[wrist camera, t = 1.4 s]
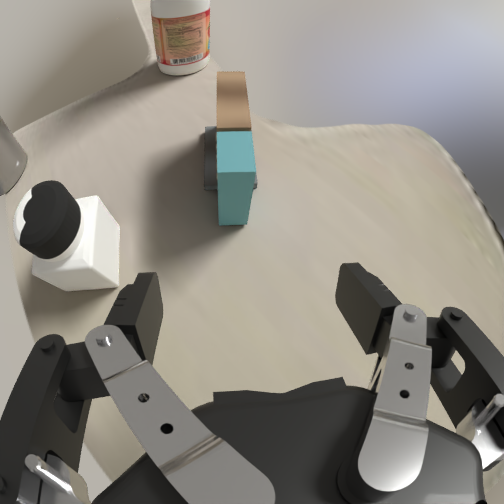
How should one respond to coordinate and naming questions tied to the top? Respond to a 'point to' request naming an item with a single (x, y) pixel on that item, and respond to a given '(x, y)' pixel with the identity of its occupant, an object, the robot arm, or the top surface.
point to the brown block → (226, 120)
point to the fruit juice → (181, 35)
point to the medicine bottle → (68, 238)
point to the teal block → (235, 176)
